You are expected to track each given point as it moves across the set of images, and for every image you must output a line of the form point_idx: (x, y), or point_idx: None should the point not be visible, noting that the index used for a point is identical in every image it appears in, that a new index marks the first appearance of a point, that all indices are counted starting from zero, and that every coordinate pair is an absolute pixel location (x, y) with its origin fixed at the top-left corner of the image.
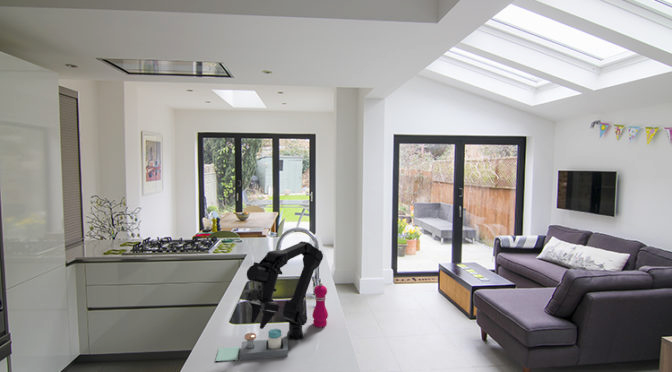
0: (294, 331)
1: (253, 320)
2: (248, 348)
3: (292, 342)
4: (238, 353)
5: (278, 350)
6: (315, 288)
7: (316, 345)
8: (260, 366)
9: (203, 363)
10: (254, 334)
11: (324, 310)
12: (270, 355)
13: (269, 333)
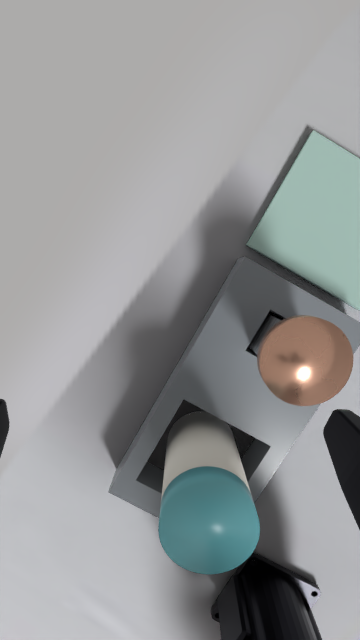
0: (235, 623)
1: (342, 450)
2: (267, 324)
3: None
4: (300, 276)
5: (136, 451)
6: None
7: (116, 620)
8: (118, 319)
9: (344, 68)
10: (301, 396)
11: None
12: (156, 401)
13: (212, 487)
